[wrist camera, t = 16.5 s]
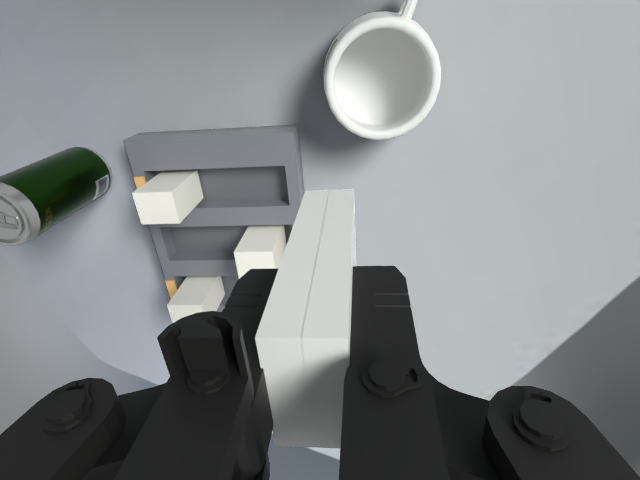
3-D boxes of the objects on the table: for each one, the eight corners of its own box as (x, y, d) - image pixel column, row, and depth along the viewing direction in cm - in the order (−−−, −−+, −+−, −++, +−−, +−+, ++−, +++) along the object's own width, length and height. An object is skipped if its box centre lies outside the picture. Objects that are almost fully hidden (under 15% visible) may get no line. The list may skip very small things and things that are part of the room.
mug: (406, 144, 37) (414, 163, 32) (310, 109, 37) (301, 123, 31) (469, 5, 32) (491, 0, 26) (356, -40, 31) (355, -55, 26)
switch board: (139, 133, 39) (122, 141, 36) (298, 124, 37) (293, 132, 34) (189, 309, 49) (178, 326, 46) (315, 310, 47) (312, 327, 45)
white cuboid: (249, 223, 41) (233, 252, 36) (283, 222, 41) (272, 251, 35) (254, 248, 42) (239, 279, 37) (287, 247, 42) (276, 279, 37)
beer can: (114, 152, 40) (27, 196, 30) (115, 199, 43) (34, 255, 32) (62, 138, 40) (-44, 178, 29) (66, 186, 43) (-31, 238, 32)
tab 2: (189, 272, 45) (166, 305, 39) (220, 272, 44) (201, 305, 39) (195, 294, 46) (174, 328, 41) (225, 294, 46) (207, 328, 40)
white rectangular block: (162, 170, 39) (131, 193, 34) (197, 169, 39) (171, 191, 33) (170, 199, 40) (141, 224, 35) (203, 197, 40) (179, 223, 35)
